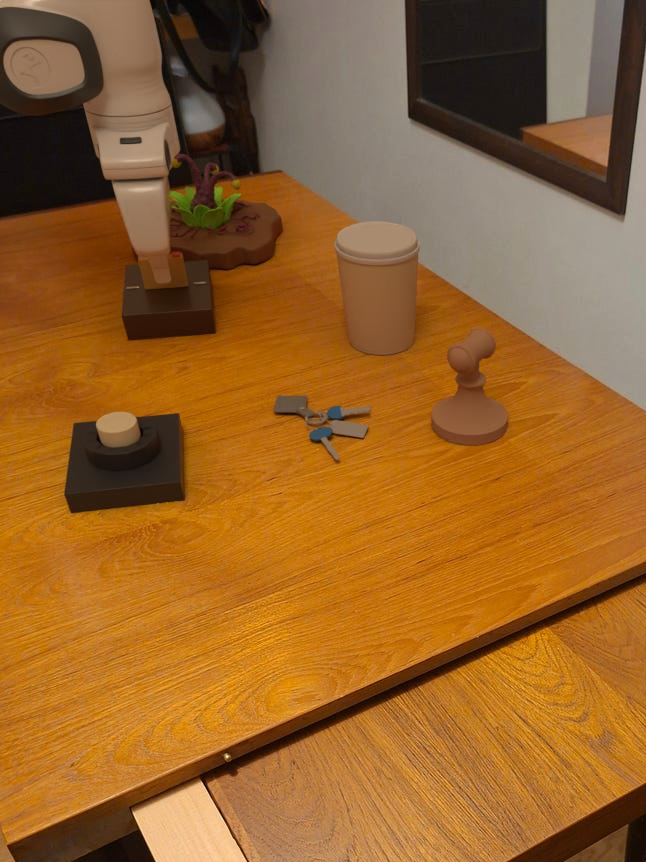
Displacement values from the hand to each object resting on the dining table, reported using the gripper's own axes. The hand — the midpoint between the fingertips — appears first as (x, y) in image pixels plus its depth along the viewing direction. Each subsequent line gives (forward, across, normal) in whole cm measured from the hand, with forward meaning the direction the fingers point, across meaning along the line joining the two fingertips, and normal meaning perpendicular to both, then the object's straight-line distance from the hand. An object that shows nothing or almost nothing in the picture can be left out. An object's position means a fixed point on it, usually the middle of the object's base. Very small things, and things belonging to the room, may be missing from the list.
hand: (164, 264), depth 106 cm
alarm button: (+2, +34, -4) cm, 34 cm away
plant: (+6, -21, +5) cm, 22 cm away
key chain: (+6, +29, +16) cm, 33 cm away
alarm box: (+6, +34, -4) cm, 35 cm away
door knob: (+6, +32, +30) cm, 44 cm away
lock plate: (+6, 0, 0) cm, 6 cm away
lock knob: (+3, 0, 0) cm, 3 cm away
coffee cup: (+6, +12, +24) cm, 27 cm away
